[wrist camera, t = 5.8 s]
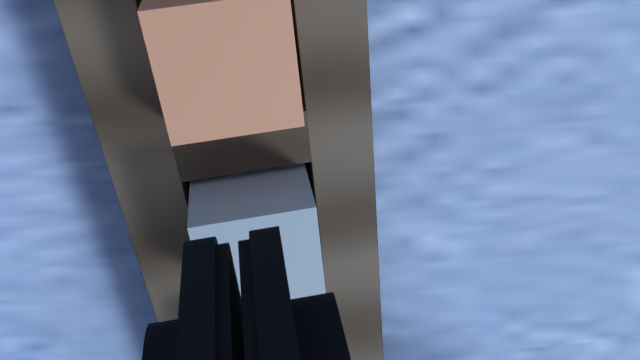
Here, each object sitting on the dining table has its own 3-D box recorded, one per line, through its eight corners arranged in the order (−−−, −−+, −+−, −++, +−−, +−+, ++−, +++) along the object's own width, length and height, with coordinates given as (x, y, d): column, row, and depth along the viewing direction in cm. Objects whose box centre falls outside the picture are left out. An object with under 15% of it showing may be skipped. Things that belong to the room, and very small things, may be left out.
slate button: (190, 169, 26) (187, 228, 22) (301, 152, 27) (316, 207, 23) (211, 256, 29) (211, 322, 25) (311, 239, 29) (327, 301, 26)
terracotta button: (149, -20, 23) (137, 11, 19) (276, -36, 23) (289, -9, 20) (177, 98, 26) (171, 146, 22) (290, 82, 26) (304, 126, 22)
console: (47, -97, 21) (25, -86, 19) (343, -130, 22) (360, -124, 20) (195, 390, 36) (194, 434, 33) (372, 357, 37) (384, 397, 34)
